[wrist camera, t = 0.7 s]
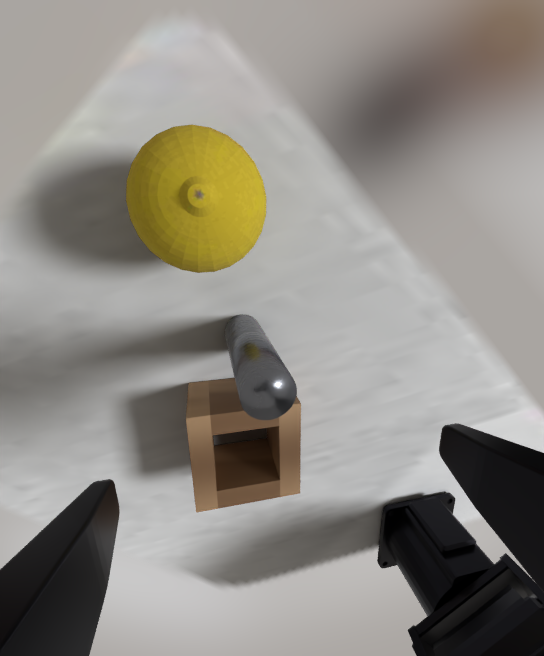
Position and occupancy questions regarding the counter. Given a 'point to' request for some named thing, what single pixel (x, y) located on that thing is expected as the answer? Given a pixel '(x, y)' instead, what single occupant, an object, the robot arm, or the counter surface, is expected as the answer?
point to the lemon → (196, 198)
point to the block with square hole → (239, 449)
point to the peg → (258, 370)
